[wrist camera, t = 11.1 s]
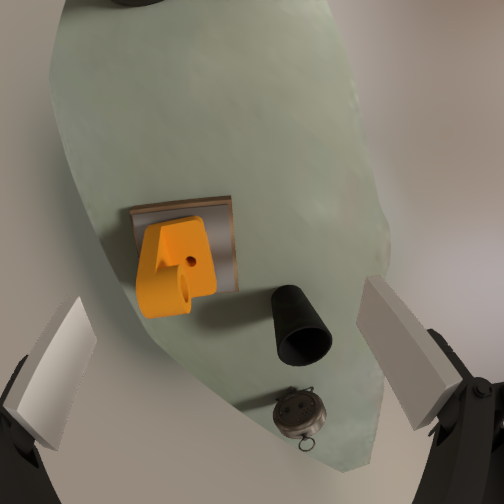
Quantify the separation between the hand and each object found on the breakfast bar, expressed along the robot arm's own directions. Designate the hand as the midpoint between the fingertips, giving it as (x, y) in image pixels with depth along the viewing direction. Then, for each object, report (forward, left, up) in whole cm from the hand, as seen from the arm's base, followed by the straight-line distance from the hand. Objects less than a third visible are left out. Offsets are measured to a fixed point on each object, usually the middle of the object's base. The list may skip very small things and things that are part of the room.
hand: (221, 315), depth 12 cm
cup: (+19, +9, -29) cm, 36 cm away
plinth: (+8, -6, -29) cm, 31 cm away
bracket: (+8, -6, -26) cm, 28 cm away
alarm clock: (+45, +11, -29) cm, 55 cm away
